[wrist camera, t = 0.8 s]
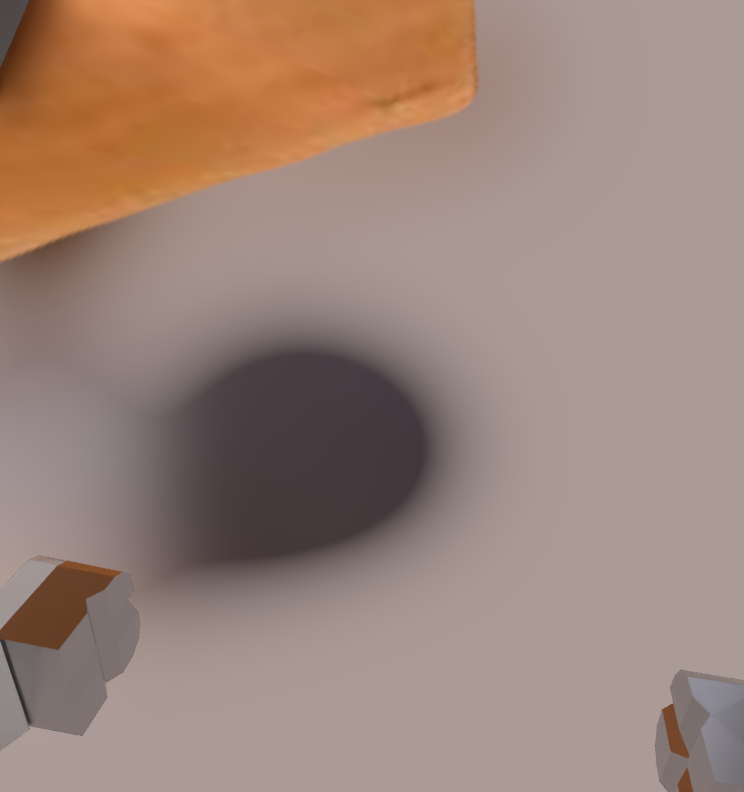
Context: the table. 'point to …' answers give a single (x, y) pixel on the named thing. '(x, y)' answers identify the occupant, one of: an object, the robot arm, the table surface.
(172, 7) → the table surface
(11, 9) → the stack base
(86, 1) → the table surface
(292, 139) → the table surface
